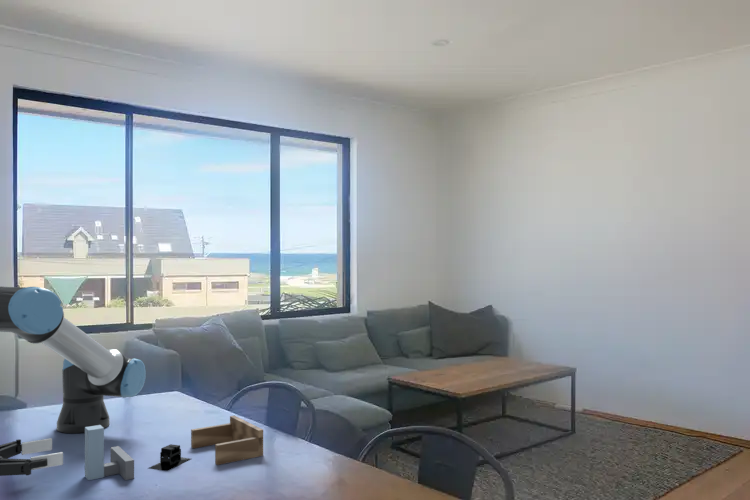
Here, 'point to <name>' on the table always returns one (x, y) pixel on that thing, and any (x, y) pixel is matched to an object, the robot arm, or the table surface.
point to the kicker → (95, 457)
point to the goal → (230, 440)
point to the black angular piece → (170, 458)
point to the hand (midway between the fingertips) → (57, 450)
